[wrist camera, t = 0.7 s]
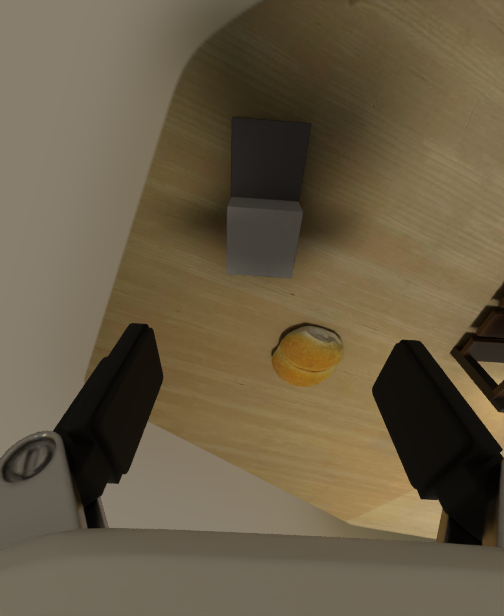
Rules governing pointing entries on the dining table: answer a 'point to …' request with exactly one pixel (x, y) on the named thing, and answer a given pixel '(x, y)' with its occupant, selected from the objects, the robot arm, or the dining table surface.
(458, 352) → the rack
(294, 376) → the bread roll
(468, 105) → the dining table surface
